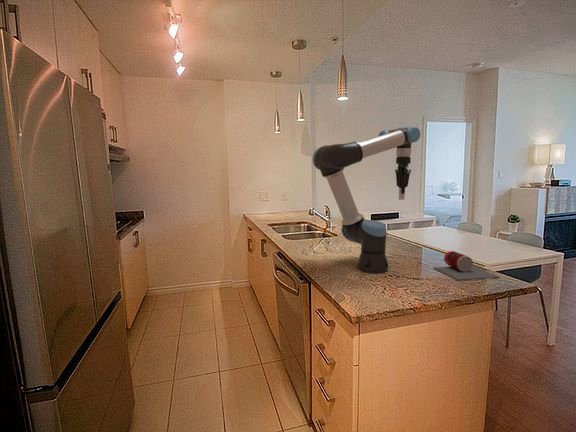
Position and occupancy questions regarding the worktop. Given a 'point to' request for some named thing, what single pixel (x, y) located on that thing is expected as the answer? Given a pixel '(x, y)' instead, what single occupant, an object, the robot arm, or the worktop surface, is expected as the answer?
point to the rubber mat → (465, 273)
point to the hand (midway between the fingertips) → (401, 199)
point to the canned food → (458, 261)
